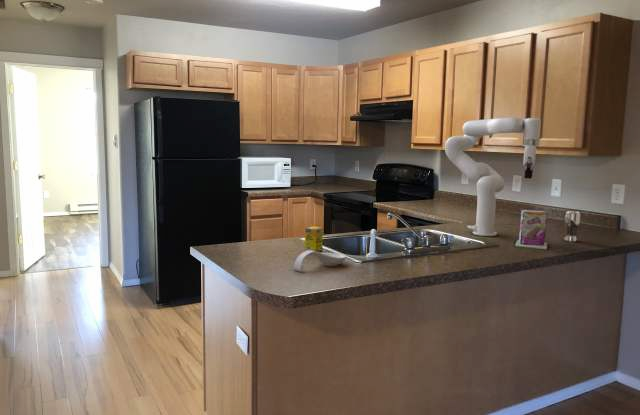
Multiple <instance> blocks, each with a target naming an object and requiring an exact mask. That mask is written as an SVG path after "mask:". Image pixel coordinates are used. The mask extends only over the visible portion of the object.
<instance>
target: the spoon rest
mask: <svg viewBox="0 0 640 415" xmlns="http://www.w3.org/2000/svg"><path fill="white" fill-rule="evenodd" d="M310 255H313V256H314V257H315V258H316V259H317V260H318V261H319V262H320V263H321V264H322V265H323V266H326V267H336V266H339V265H340V264H342V263H343V262H344V261H345V260H346V258H347V256H346V255H345V254H341V253H335V252H315V251H312V250H307V251H305V250H304V251H303V252H301V253H300V254H299V255H298V256H297V258H296V259H295V262H294V264H293V270H294V271H297V272H301V273H302V272H303V268H304V262H305V259H306V258H307V257H309V256H310Z"/></svg>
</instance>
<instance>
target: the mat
mask: <svg viewBox="0 0 640 415" xmlns="http://www.w3.org/2000/svg"><path fill="white" fill-rule="evenodd" d="M514 246H515V247H517V248H527V249H537V250H548V243H547V242H544V245H529V244H520V243H519V239H517V240H516V242H515V244H514Z"/></svg>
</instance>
